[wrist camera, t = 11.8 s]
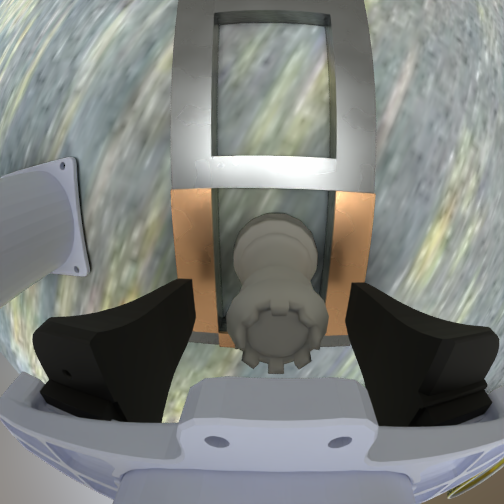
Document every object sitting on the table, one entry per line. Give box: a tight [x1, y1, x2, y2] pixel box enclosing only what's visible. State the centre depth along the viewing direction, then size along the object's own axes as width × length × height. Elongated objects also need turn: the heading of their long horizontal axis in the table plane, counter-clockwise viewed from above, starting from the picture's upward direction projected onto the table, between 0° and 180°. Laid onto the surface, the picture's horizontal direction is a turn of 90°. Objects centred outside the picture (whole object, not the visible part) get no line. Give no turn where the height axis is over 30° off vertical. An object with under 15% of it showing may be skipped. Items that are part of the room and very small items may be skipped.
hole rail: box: [171, 0, 376, 348], centre depth 11 cm, size 10×29×2 cm, turn 0°
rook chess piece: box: [226, 213, 329, 374], centre depth 11 cm, size 4×4×8 cm
